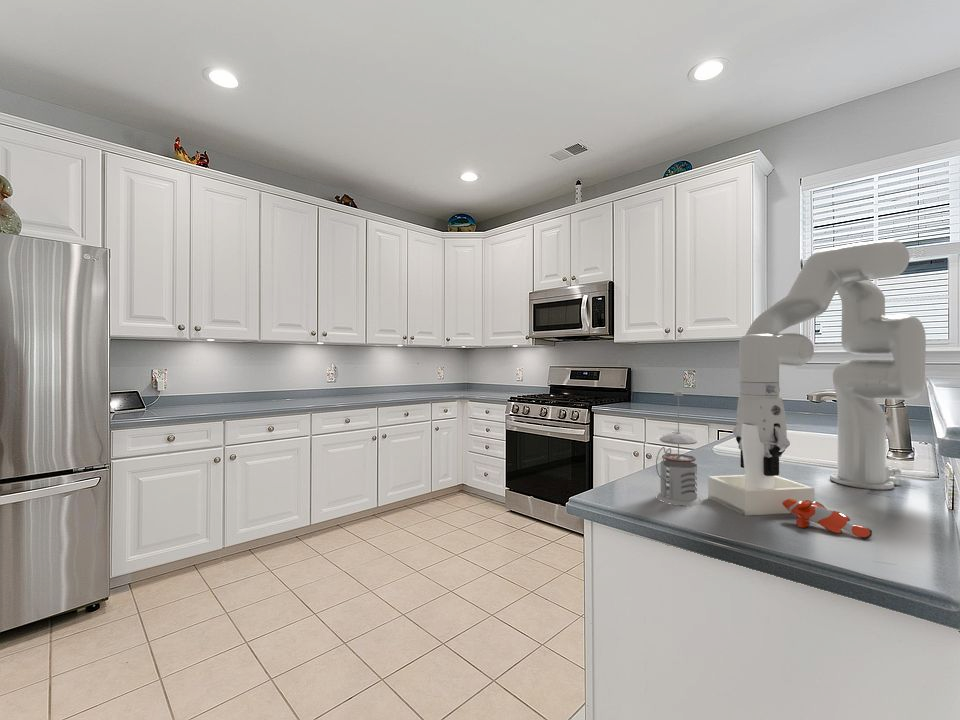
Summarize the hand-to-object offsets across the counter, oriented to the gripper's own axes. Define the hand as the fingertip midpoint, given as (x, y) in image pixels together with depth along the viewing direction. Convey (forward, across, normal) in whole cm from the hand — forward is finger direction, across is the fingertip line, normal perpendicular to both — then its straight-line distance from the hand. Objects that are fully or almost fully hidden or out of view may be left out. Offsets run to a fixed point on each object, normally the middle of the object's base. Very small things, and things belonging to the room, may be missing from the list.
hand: (759, 470), depth 101 cm
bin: (+8, 0, 0) cm, 8 cm away
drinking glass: (+5, 0, 0) cm, 5 cm away
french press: (+8, +6, +16) cm, 19 cm away
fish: (+8, -14, -1) cm, 16 cm away
